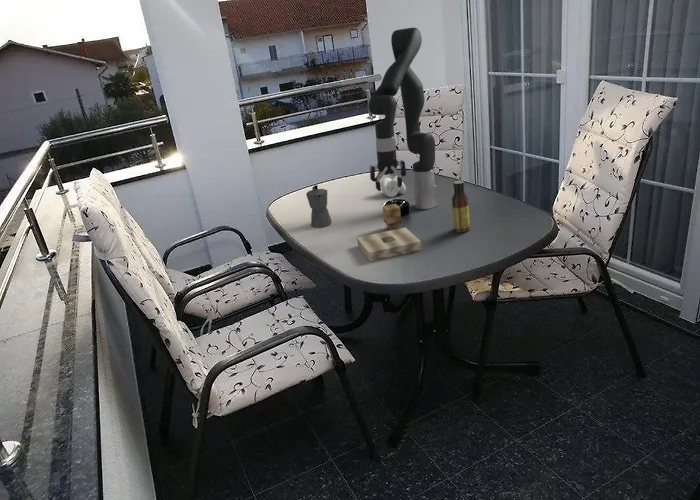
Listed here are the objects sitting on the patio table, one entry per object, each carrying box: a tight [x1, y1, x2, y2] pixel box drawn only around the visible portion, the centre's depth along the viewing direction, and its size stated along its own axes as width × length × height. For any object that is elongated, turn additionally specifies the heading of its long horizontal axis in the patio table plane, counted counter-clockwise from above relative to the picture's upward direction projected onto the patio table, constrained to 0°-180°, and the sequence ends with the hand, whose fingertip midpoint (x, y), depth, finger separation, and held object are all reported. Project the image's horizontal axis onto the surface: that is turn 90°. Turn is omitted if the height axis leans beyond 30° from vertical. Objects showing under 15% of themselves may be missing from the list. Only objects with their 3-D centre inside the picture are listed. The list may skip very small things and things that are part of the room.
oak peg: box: [382, 203, 402, 231], centre depth 205 cm, size 6×6×10 cm
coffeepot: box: [305, 184, 333, 229], centre depth 219 cm, size 15×9×18 cm, turn 13°
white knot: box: [380, 174, 407, 198], centre depth 246 cm, size 11×12×9 cm
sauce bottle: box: [451, 180, 471, 233], centre depth 193 cm, size 7×6×20 cm
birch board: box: [356, 226, 422, 262], centre depth 189 cm, size 20×16×4 cm
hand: (389, 188), depth 200 cm, fingers open, 8 cm apart
